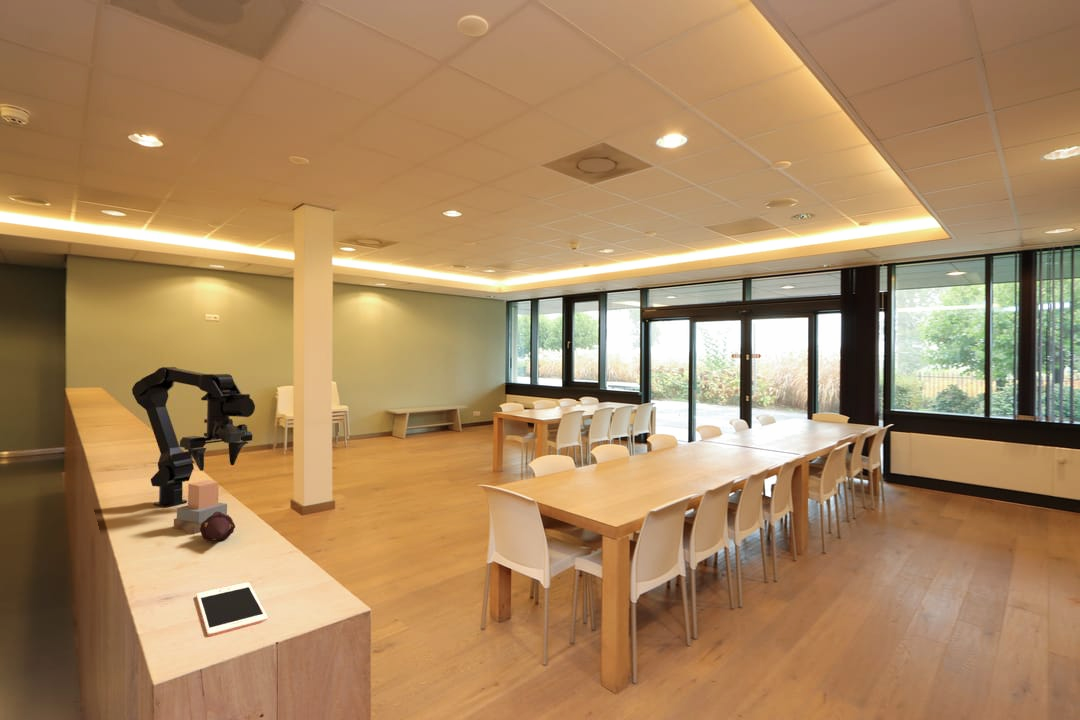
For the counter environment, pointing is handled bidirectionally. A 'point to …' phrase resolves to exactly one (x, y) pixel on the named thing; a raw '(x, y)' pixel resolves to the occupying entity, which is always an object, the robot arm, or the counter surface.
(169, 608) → the counter surface
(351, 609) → the counter surface
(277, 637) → the counter surface
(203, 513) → the tower top
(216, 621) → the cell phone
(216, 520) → the maroon plush toy
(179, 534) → the counter surface
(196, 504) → the block
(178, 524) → the tower bottom
